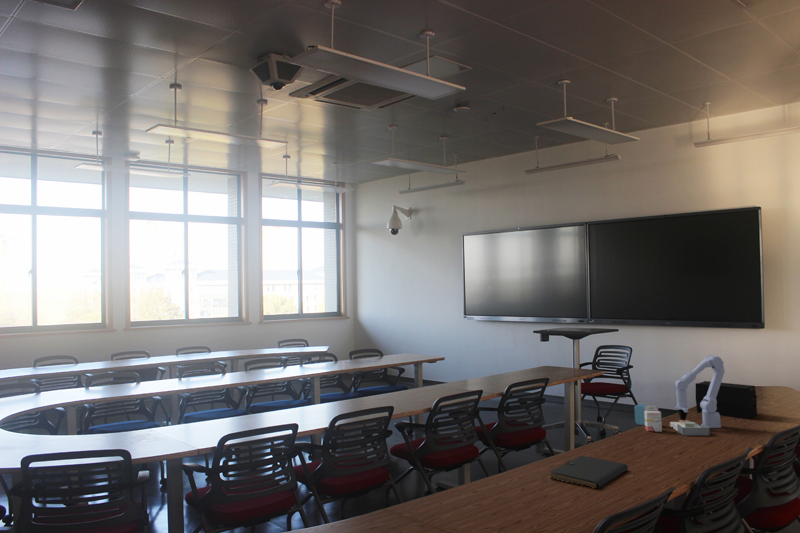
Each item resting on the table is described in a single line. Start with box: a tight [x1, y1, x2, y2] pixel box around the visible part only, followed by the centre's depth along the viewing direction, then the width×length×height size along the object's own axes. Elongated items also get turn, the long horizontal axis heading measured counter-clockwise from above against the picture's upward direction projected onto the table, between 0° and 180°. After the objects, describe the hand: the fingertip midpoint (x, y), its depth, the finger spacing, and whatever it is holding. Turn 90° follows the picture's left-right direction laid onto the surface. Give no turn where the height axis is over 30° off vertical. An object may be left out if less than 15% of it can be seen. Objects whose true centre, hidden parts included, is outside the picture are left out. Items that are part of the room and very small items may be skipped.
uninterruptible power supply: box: [695, 380, 758, 420], centre depth 379 cm, size 16×34×20 cm, turn 37°
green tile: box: [682, 421, 694, 427], centre depth 341 cm, size 5×5×2 cm
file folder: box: [549, 455, 629, 489], centre depth 266 cm, size 33×4×24 cm
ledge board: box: [669, 421, 703, 432], centre depth 345 cm, size 14×14×2 cm
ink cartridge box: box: [644, 405, 663, 433], centre depth 343 cm, size 9×5×15 cm, turn 84°
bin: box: [677, 423, 711, 437], centre depth 333 cm, size 15×9×4 cm, turn 82°
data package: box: [633, 404, 654, 426], centre depth 359 cm, size 12×4×12 cm, turn 39°
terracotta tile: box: [678, 419, 691, 425], centre depth 346 cm, size 5×5×2 cm
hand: (683, 421), depth 350 cm, fingers closed
